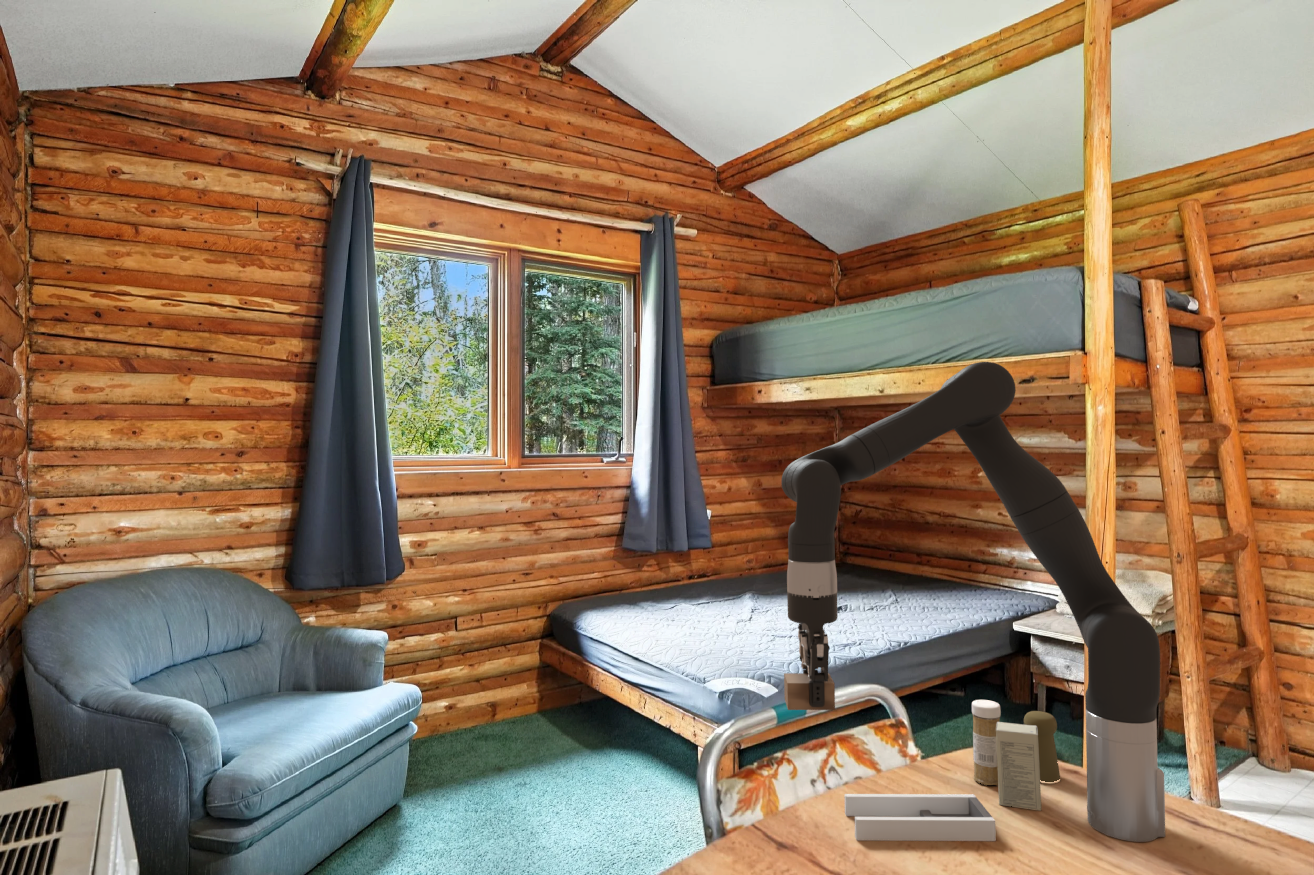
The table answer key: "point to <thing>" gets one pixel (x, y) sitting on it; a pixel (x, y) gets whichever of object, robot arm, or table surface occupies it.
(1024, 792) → the skincare box
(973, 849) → the table surface
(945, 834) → the trap channel
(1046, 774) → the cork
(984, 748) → the sprinkles bottle
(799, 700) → the walnut block
